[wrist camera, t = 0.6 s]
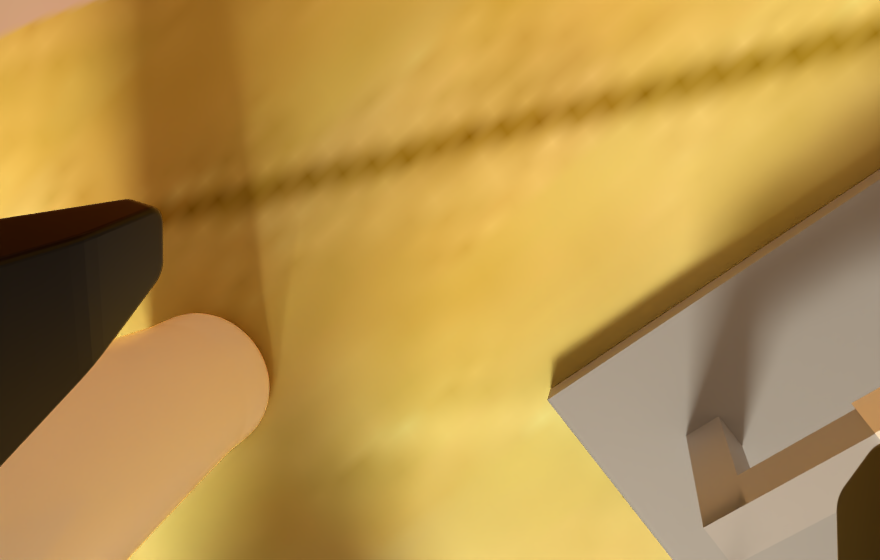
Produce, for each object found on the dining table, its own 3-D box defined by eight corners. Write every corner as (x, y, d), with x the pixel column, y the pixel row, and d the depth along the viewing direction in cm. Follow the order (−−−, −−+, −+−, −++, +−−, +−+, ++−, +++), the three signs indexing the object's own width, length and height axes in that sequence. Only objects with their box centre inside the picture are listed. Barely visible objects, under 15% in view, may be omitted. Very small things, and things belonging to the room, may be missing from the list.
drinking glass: (253, 267, 27) (-169, 435, 12) (319, 434, 28) (-8, 771, 13) (111, 318, 29) (-394, 512, 14) (176, 473, 30) (-242, 800, 15)
